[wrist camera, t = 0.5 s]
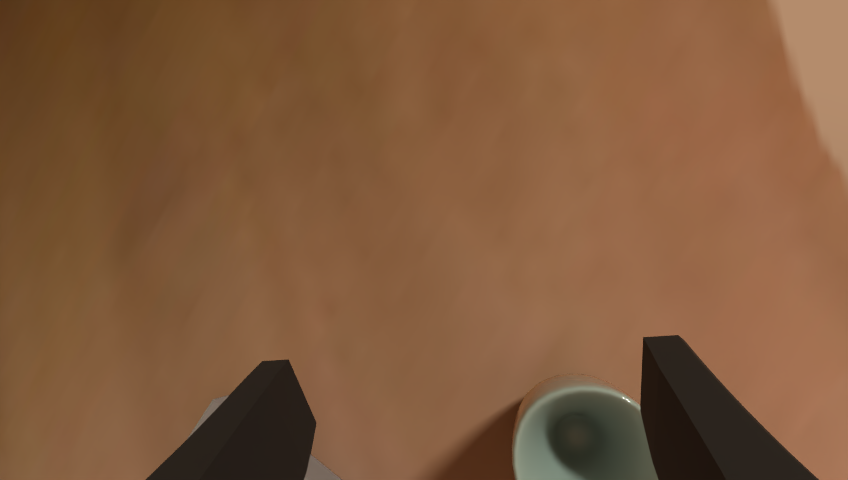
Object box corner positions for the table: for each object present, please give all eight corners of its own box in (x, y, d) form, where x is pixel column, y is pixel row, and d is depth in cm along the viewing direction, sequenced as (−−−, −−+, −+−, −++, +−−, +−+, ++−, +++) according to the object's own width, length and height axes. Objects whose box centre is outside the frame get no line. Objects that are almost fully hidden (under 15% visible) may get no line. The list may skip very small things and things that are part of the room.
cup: (520, 484, 36) (518, 547, 26) (509, 369, 37) (503, 389, 27) (639, 482, 35) (683, 548, 25) (623, 363, 36) (659, 380, 26)
